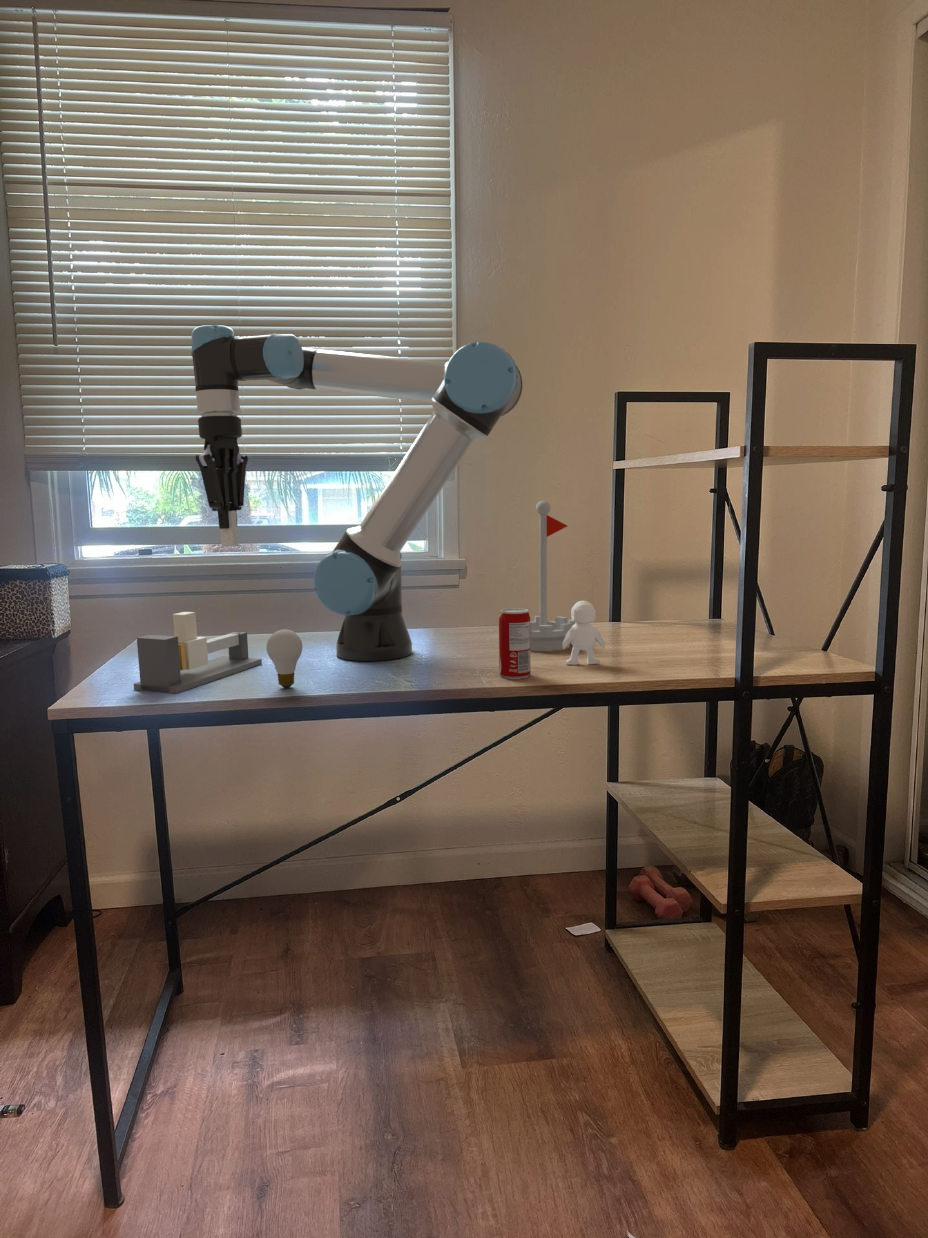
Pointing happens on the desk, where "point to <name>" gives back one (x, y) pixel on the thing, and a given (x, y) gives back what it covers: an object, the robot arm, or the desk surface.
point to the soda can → (514, 643)
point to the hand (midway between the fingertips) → (230, 546)
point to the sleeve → (190, 639)
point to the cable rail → (168, 662)
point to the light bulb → (284, 654)
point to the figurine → (583, 633)
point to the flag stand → (541, 630)
